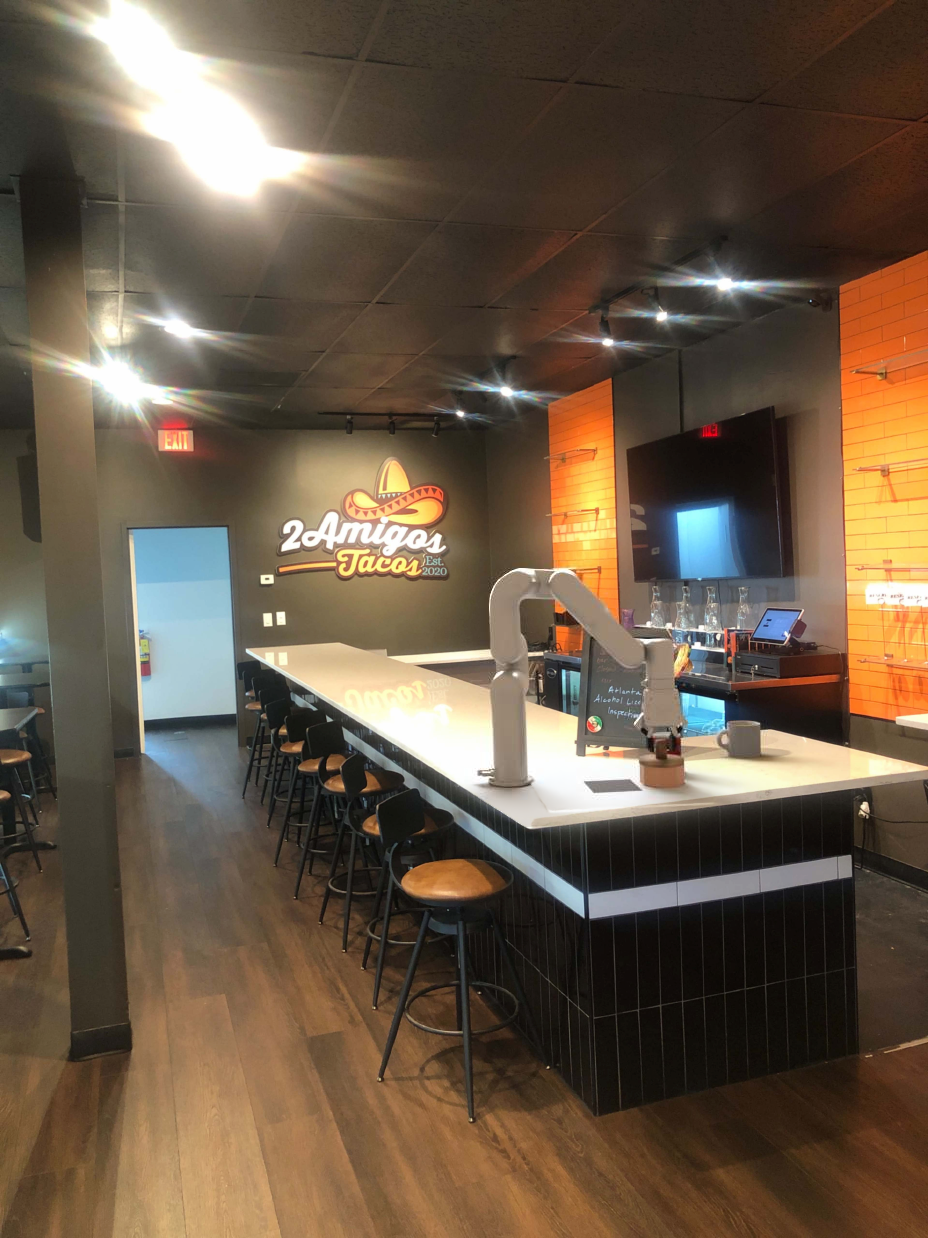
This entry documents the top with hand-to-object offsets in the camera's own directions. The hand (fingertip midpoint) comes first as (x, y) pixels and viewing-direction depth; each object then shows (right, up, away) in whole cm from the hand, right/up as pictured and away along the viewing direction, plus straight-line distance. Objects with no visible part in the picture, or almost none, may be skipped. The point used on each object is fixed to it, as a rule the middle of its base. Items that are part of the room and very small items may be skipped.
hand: (661, 750), depth 244 cm
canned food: (+5, -9, +16) cm, 19 cm away
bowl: (0, -9, 0) cm, 9 cm away
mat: (-14, -10, -2) cm, 17 cm away
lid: (0, -3, 0) cm, 3 cm away
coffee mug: (+32, -7, +36) cm, 48 cm away
